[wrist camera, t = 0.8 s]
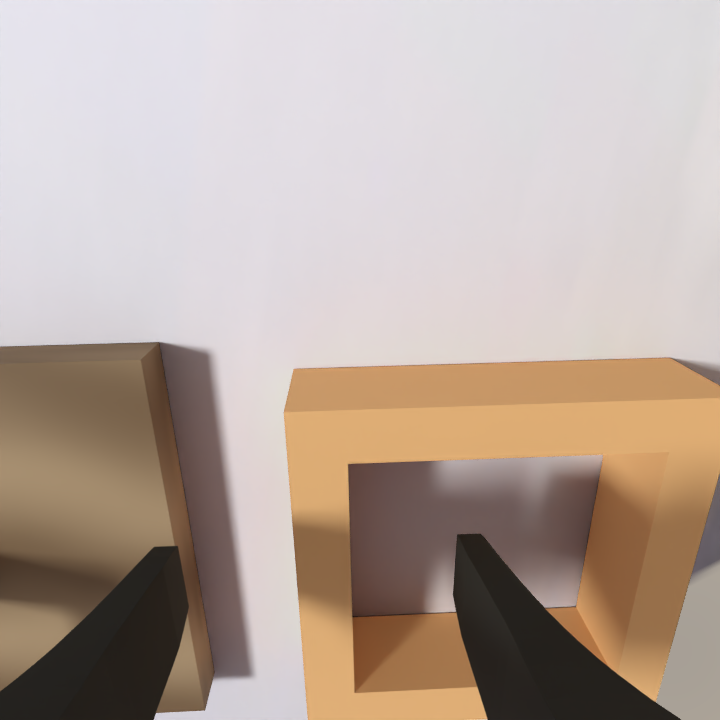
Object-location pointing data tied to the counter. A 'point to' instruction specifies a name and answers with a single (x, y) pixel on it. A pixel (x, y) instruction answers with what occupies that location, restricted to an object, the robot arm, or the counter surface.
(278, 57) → the counter surface
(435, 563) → the counter surface
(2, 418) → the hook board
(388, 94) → the counter surface
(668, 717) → the robot arm
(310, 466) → the wooden square frame
